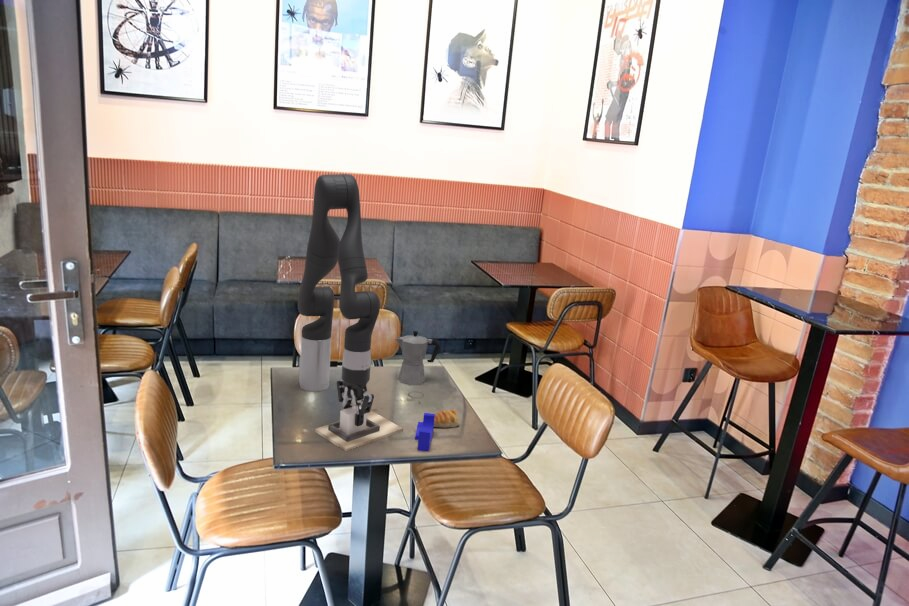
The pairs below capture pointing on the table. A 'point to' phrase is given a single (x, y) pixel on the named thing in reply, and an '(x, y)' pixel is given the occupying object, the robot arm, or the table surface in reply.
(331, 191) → the robot arm
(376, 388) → the table surface
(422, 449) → the cable clip
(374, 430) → the board
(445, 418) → the pastry
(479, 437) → the table surface
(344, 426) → the keyed plug
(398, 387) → the table surface
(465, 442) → the table surface
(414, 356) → the coffeepot
